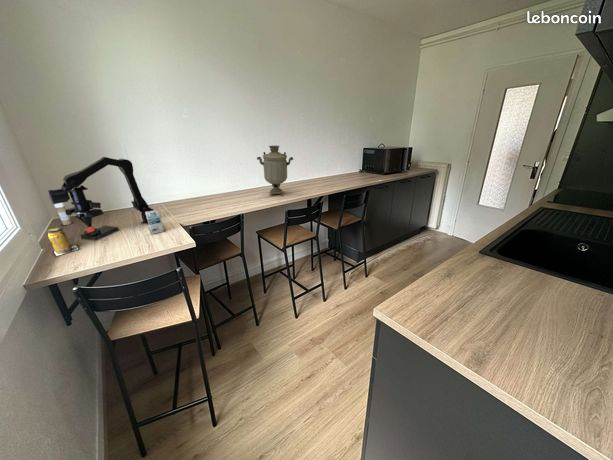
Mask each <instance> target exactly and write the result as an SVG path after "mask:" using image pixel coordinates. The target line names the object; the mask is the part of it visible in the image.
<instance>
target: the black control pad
mask: <svg viewBox="0 0 613 460" xmlns="http://www.w3.org/2000/svg"><path fill="white" fill-rule="evenodd" d="M95 228H96V231H94V232H89V233H87V231H86V230H83V233H82V234H80V235H79V236H80V238H81V239H82V240H87V241H88V240H89V241H98V240H100V239H102V238H105V237H107V236H109V235H111V234H113V233H116V232H118V231H120V229H119V227H118V226H112V225H102V226H100V227H95Z"/></svg>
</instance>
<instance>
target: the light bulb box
mask: <svg viewBox="0 0 613 460" xmlns="http://www.w3.org/2000/svg"><path fill="white" fill-rule="evenodd" d="M153 210H154V211H147V212H145V213H146V217H147V220H148V223H149V224H148V226H149V229H150V232H151V234H152V235H153V234H159V233H163V232H165V228H164V224H163V220H162V217H161V213H160V212H159V210H158V209H153Z"/></svg>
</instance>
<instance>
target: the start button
mask: <svg viewBox="0 0 613 460" xmlns="http://www.w3.org/2000/svg"><path fill="white" fill-rule="evenodd" d="M96 228H97V227H95V226H91V227H86V228H85V231H87V233H89V232H94V231H96Z"/></svg>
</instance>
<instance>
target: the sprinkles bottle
mask: <svg viewBox="0 0 613 460" xmlns="http://www.w3.org/2000/svg"><path fill="white" fill-rule="evenodd" d="M53 206H54V208H55V210H56V212H57V215H58V217H59V220H60V222H61V223H62V225H63V226H69V225H71V224H73V222H72V220H71V216H70V215H66V213H65V211H66V209H67V207H66V205H65V202H63V203H57V204H53Z"/></svg>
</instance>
